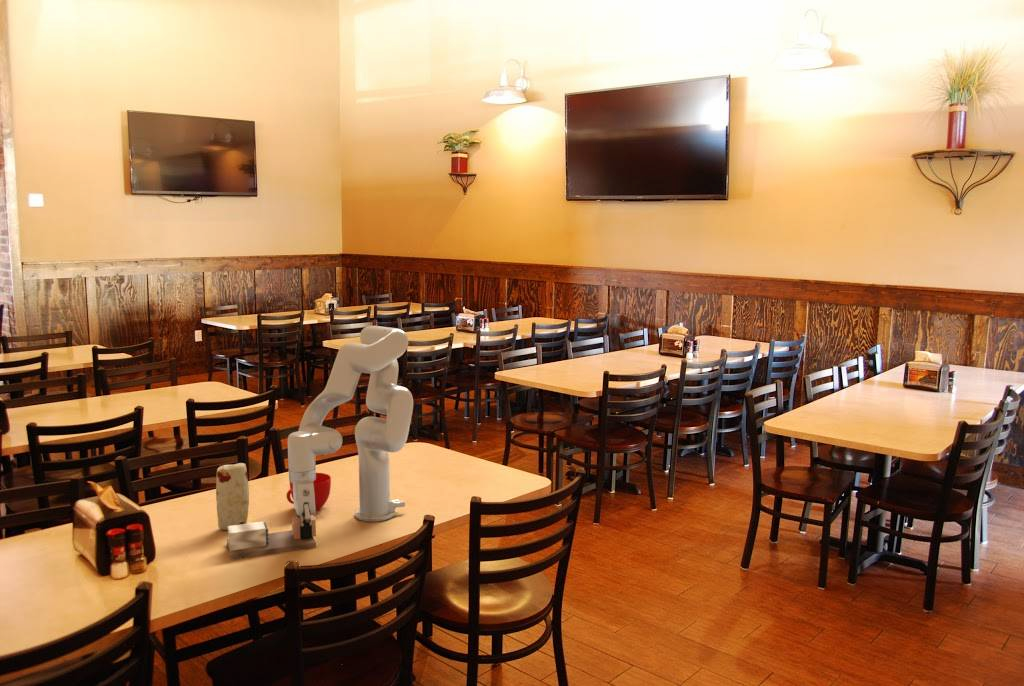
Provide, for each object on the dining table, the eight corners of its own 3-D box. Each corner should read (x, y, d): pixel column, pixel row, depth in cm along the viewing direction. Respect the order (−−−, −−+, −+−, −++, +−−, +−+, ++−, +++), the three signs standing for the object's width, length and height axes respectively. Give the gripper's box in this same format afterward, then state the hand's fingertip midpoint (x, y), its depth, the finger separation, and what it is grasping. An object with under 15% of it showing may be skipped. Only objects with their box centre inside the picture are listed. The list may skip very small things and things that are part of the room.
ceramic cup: (272, 514, 257) (271, 484, 256) (309, 499, 272) (308, 470, 270) (304, 521, 251) (303, 490, 250) (339, 505, 266) (339, 476, 264)
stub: (313, 531, 239) (312, 515, 238) (315, 536, 235) (315, 519, 234) (292, 534, 236) (292, 518, 235) (294, 539, 233) (294, 522, 232)
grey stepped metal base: (308, 532, 242) (307, 511, 241) (315, 547, 231) (315, 525, 230) (227, 544, 233) (226, 522, 232) (230, 560, 222) (229, 537, 221)
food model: (222, 534, 240) (219, 469, 237) (213, 528, 245) (210, 464, 242) (254, 526, 247) (251, 462, 244) (244, 520, 252) (241, 458, 249)
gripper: (321, 481, 227) (323, 543, 229) (310, 465, 242) (311, 522, 245) (293, 485, 224) (295, 547, 226) (284, 468, 239) (286, 526, 242)
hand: (304, 534), depth 235 cm, fingers open, 6 cm apart
